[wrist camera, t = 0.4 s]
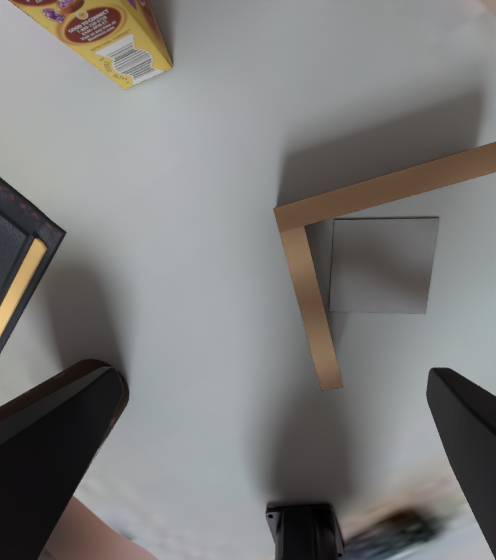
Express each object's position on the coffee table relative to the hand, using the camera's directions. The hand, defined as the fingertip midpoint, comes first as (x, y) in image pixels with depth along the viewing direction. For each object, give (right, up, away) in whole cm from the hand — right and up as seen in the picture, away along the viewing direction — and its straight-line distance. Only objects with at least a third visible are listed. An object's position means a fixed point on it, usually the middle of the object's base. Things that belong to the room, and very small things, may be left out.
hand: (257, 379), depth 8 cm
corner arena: (+9, +4, +13) cm, 16 cm away
